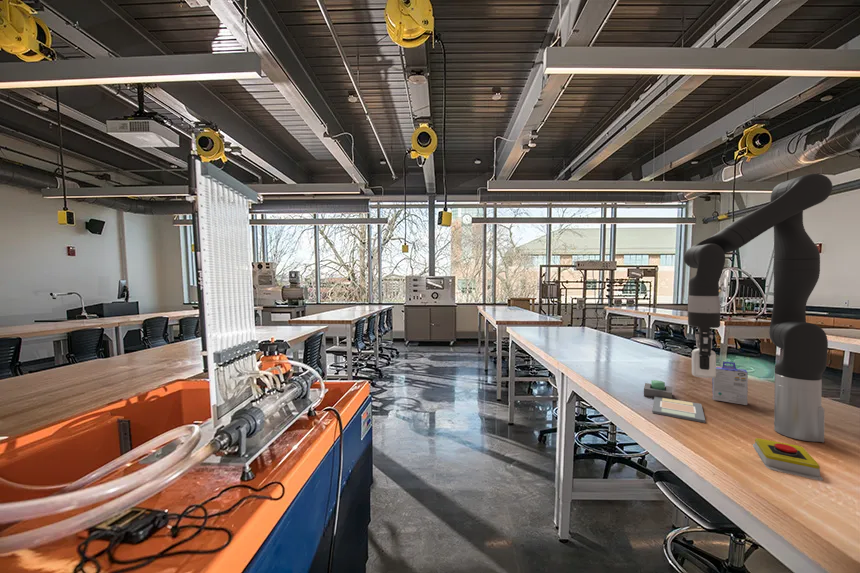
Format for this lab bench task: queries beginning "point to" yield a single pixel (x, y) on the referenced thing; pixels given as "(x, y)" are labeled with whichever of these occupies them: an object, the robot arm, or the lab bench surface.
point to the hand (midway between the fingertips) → (703, 367)
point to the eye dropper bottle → (696, 365)
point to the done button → (657, 385)
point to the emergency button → (787, 458)
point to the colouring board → (678, 409)
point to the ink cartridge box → (730, 384)
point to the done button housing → (657, 392)
